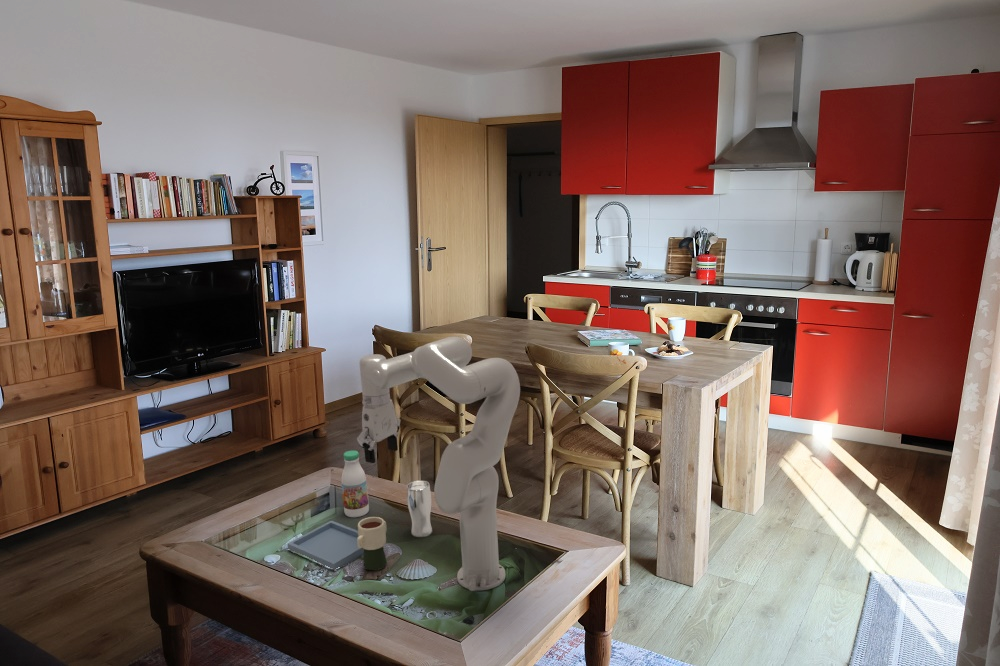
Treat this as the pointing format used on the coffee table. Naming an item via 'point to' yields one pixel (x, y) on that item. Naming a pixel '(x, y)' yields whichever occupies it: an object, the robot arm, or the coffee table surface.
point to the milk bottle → (354, 486)
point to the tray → (329, 545)
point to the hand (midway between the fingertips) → (381, 455)
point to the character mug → (372, 542)
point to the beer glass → (419, 507)
